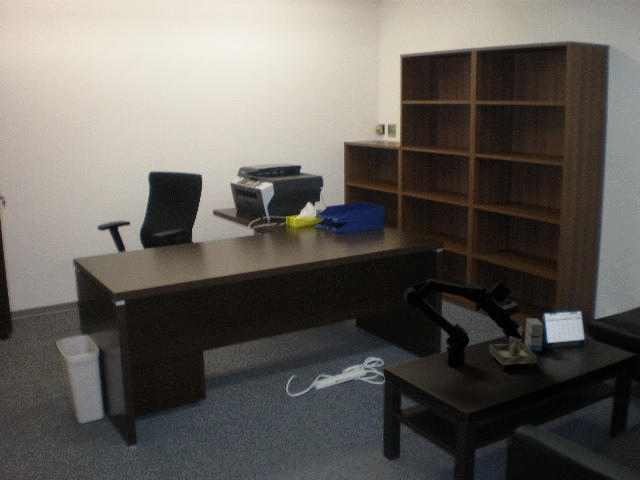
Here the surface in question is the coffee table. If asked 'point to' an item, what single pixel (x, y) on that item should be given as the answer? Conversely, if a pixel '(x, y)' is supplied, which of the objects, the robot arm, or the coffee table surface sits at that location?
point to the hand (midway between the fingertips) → (519, 336)
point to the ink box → (534, 334)
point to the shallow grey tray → (512, 355)
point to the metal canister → (514, 342)
